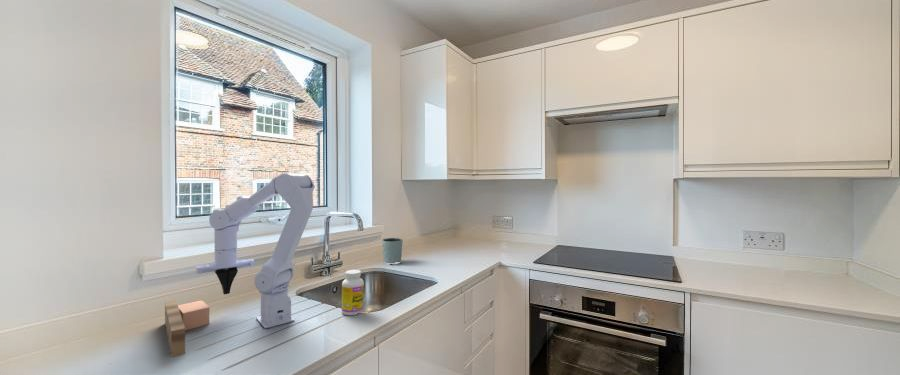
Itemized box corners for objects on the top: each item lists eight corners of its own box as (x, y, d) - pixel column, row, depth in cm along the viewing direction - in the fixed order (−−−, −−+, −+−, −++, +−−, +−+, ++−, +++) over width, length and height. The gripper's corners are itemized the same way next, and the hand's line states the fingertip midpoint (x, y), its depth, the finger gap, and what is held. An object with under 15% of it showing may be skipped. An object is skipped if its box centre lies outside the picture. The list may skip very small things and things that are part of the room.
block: (209, 324, 95) (209, 307, 95) (183, 331, 91) (182, 313, 91) (201, 316, 101) (201, 300, 101) (176, 322, 96) (176, 305, 96)
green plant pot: (403, 260, 173) (403, 237, 173) (401, 265, 163) (401, 241, 163) (383, 260, 173) (383, 237, 172) (380, 265, 162) (380, 241, 162)
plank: (185, 353, 79) (185, 328, 79) (171, 356, 78) (171, 331, 77) (176, 321, 97) (176, 300, 97) (164, 323, 95) (164, 302, 95)
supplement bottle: (351, 317, 101) (352, 275, 101) (337, 313, 105) (337, 272, 104) (367, 310, 107) (368, 270, 106) (353, 306, 110) (353, 267, 110)
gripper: (249, 243, 109) (250, 285, 109) (194, 250, 99) (194, 295, 99) (255, 247, 104) (255, 290, 104) (197, 253, 94) (198, 301, 94)
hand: (226, 293), depth 102 cm, fingers closed
